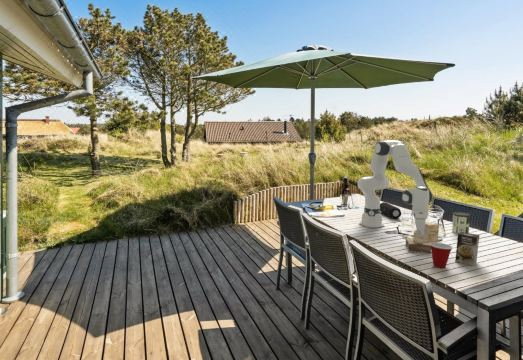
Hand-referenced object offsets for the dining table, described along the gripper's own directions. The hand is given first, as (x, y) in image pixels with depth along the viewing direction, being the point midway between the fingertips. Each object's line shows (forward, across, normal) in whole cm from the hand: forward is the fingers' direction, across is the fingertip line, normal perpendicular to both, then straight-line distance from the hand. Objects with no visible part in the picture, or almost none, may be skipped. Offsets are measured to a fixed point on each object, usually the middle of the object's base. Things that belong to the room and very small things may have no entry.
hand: (418, 234), depth 186 cm
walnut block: (+10, 0, 0) cm, 10 cm away
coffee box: (+9, +13, +23) cm, 28 cm away
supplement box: (+9, -14, +8) cm, 19 cm away
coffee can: (+9, -46, +30) cm, 56 cm away
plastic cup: (+9, +24, +9) cm, 27 cm away
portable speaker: (+10, -79, -18) cm, 82 cm away
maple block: (+4, 0, 0) cm, 5 cm away
